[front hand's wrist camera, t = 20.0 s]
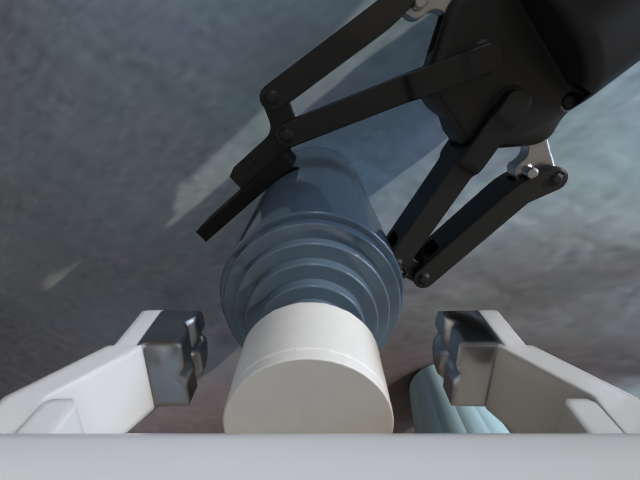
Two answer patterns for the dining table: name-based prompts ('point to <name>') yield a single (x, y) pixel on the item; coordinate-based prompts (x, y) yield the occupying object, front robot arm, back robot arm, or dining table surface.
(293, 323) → the cap
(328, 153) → the bottle
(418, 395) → the cup
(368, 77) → the dining table surface
